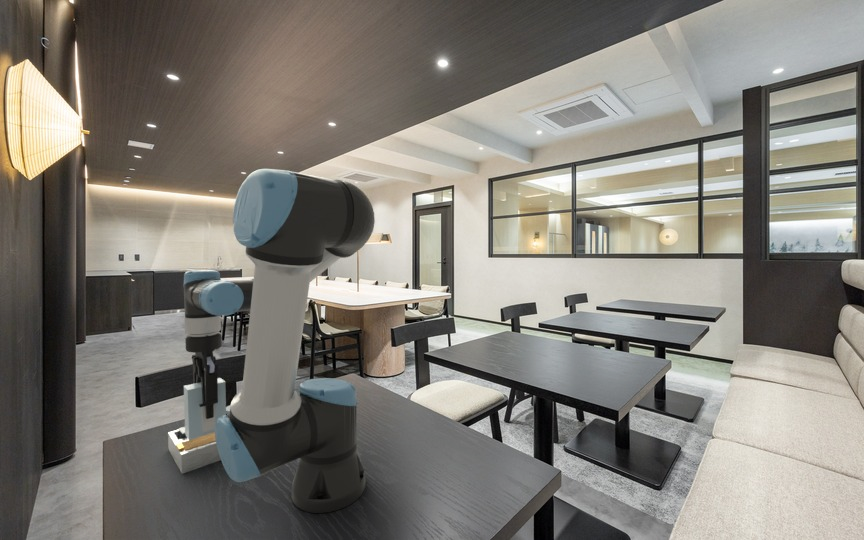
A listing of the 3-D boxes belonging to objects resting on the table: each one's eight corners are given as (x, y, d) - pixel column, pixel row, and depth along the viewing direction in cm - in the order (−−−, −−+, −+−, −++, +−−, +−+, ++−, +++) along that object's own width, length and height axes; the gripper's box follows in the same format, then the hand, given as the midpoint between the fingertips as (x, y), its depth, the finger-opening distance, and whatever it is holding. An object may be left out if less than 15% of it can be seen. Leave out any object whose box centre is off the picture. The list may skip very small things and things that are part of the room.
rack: (238, 453, 92) (237, 432, 92) (181, 473, 84) (181, 450, 83) (220, 433, 103) (219, 414, 103) (168, 449, 94) (167, 428, 94)
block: (226, 428, 92) (225, 381, 91) (189, 440, 86) (187, 390, 86) (221, 423, 95) (220, 377, 94) (185, 434, 89) (183, 385, 88)
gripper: (231, 336, 86) (234, 433, 87) (211, 326, 98) (213, 411, 99) (194, 341, 81) (197, 445, 82) (177, 330, 93) (180, 420, 94)
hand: (206, 426), depth 90 cm, fingers closed on block, 4 cm apart
